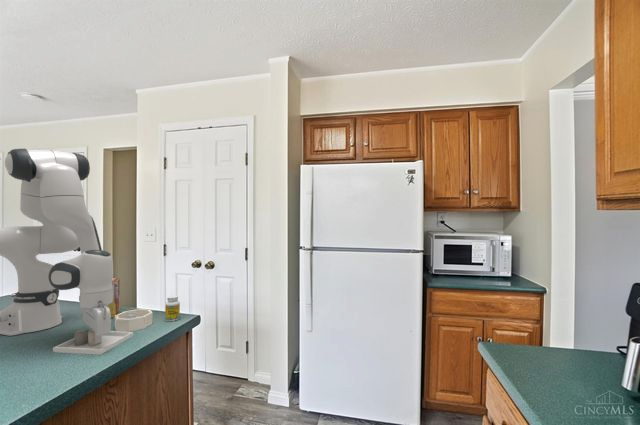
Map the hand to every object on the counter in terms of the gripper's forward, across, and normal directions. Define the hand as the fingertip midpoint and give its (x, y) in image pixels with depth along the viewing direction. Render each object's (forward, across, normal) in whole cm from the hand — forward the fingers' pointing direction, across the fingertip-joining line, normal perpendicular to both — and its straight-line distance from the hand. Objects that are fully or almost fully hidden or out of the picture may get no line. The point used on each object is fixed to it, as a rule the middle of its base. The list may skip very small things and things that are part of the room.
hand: (95, 340), depth 97 cm
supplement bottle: (+2, +6, -28) cm, 28 cm away
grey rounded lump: (+1, +10, -13) cm, 17 cm away
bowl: (+2, +9, -14) cm, 17 cm away
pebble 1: (+1, +4, +3) cm, 5 cm away
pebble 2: (+1, 0, 0) cm, 1 cm away
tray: (+2, 0, 0) cm, 2 cm away
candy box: (+2, +31, -12) cm, 33 cm away
